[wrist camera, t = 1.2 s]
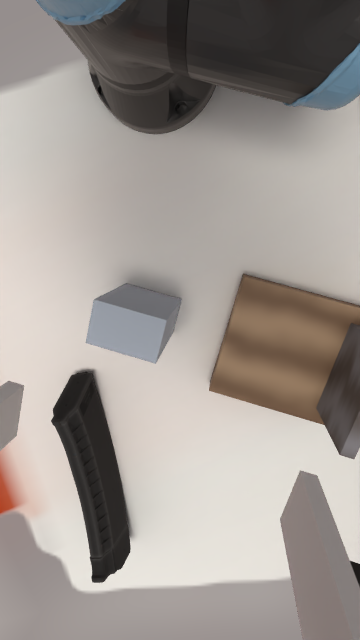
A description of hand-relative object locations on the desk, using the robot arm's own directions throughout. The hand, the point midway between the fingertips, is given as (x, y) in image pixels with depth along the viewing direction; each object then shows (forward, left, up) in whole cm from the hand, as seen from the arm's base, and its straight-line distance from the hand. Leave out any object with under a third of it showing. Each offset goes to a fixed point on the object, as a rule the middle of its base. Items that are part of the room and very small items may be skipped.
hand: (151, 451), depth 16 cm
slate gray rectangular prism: (+2, -7, -33) cm, 33 cm away
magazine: (+28, -8, -33) cm, 44 cm away
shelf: (+2, +12, -33) cm, 35 cm away
